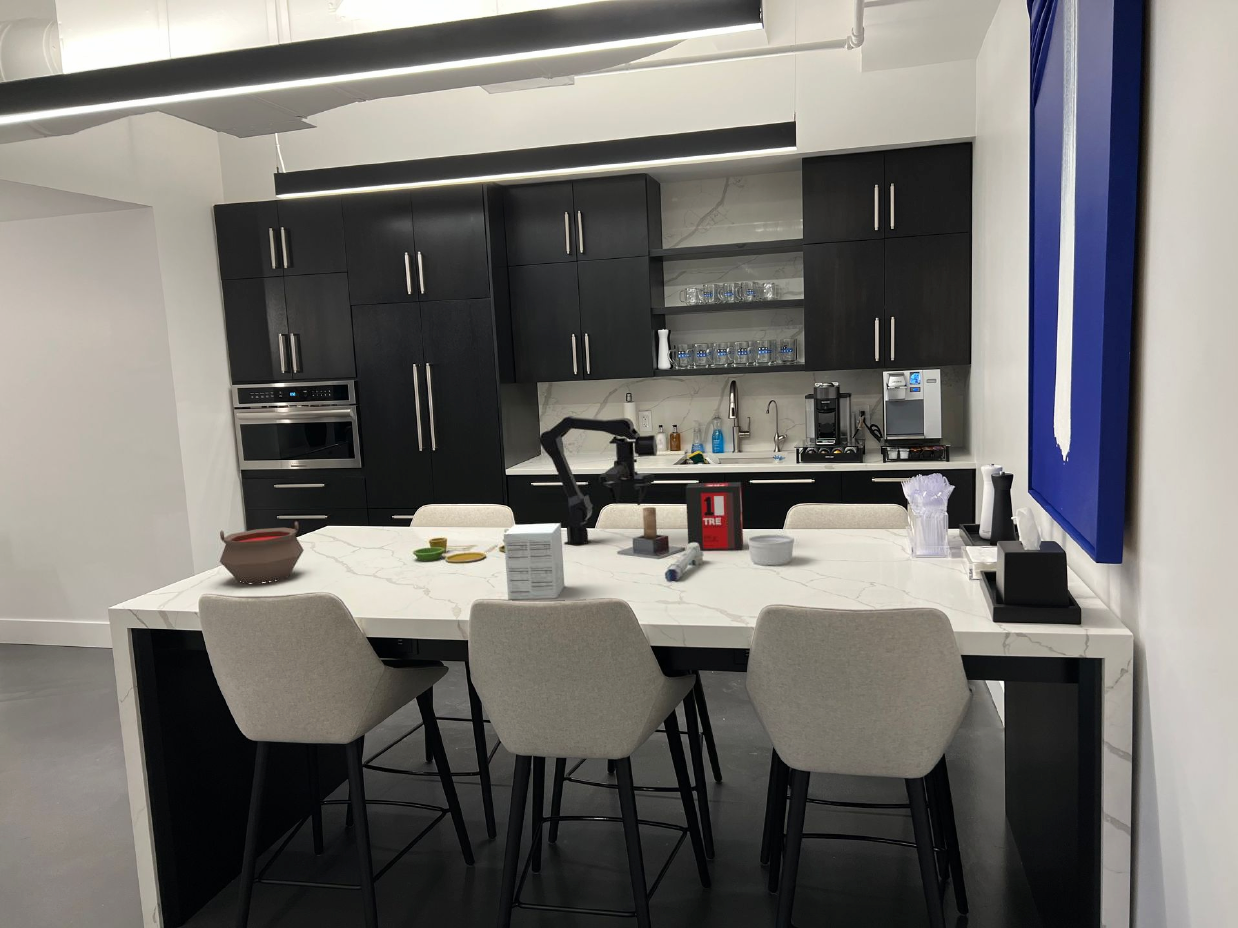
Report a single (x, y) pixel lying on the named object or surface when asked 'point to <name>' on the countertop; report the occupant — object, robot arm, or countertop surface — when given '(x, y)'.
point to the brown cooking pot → (261, 554)
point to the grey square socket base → (651, 547)
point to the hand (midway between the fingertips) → (627, 504)
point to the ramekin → (771, 549)
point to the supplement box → (534, 561)
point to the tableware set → (440, 548)
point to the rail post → (649, 523)
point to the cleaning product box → (715, 516)
